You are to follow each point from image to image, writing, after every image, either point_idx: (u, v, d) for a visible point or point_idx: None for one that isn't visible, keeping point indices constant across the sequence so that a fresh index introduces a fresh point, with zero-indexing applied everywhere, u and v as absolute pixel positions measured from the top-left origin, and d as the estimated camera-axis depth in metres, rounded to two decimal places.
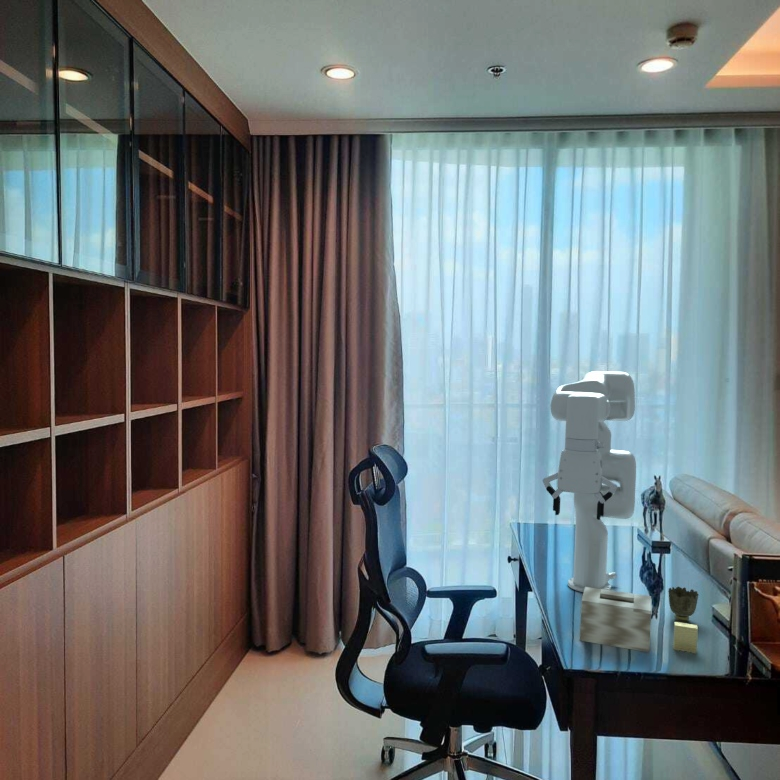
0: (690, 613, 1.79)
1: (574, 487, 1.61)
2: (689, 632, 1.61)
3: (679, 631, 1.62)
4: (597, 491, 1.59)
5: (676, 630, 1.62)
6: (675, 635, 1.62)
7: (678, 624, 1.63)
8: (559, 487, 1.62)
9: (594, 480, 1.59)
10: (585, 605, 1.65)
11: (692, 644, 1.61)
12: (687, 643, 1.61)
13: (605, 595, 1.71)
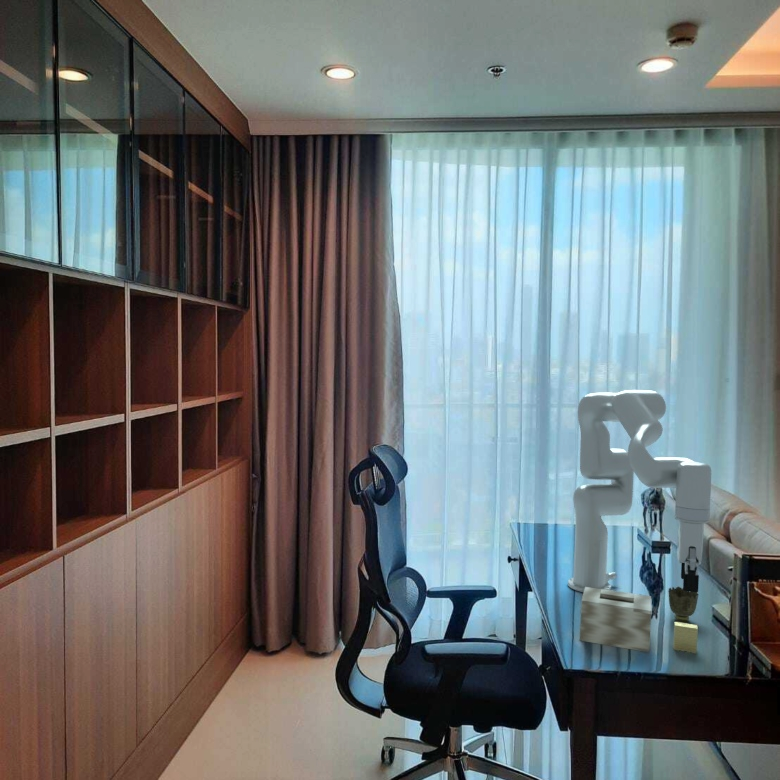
0: (690, 613, 1.79)
1: None
2: (689, 632, 1.61)
3: (679, 631, 1.62)
4: None
5: (676, 630, 1.62)
6: (675, 635, 1.62)
7: (678, 624, 1.63)
8: (700, 562, 1.57)
9: None
10: (585, 605, 1.65)
11: (692, 644, 1.61)
12: (687, 643, 1.61)
13: (605, 595, 1.71)
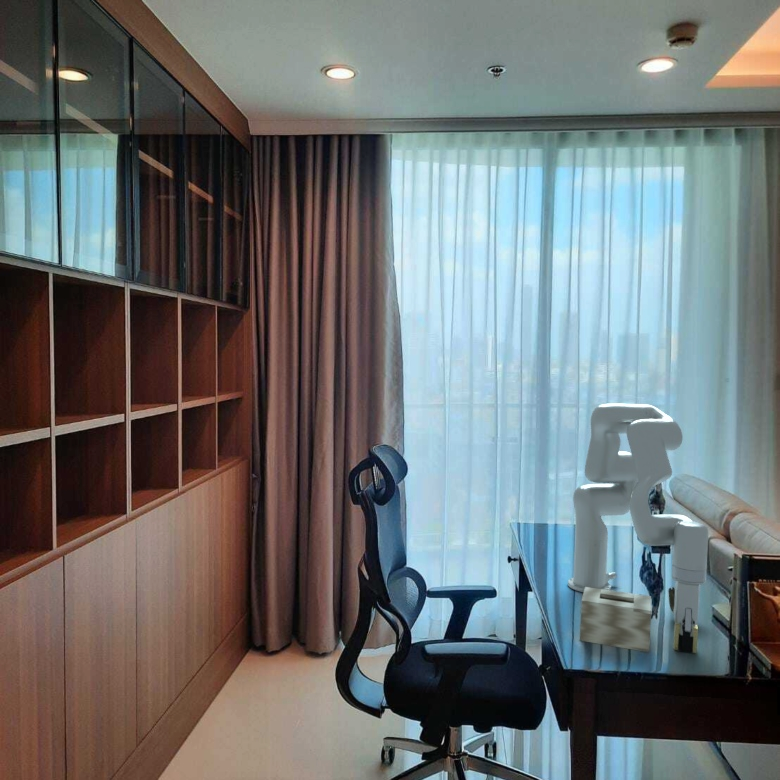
0: None
1: None
2: None
3: (679, 631, 1.62)
4: None
5: (676, 630, 1.62)
6: (675, 635, 1.62)
7: (678, 624, 1.63)
8: (696, 623, 1.58)
9: None
10: (585, 605, 1.65)
11: None
12: None
13: (605, 595, 1.71)
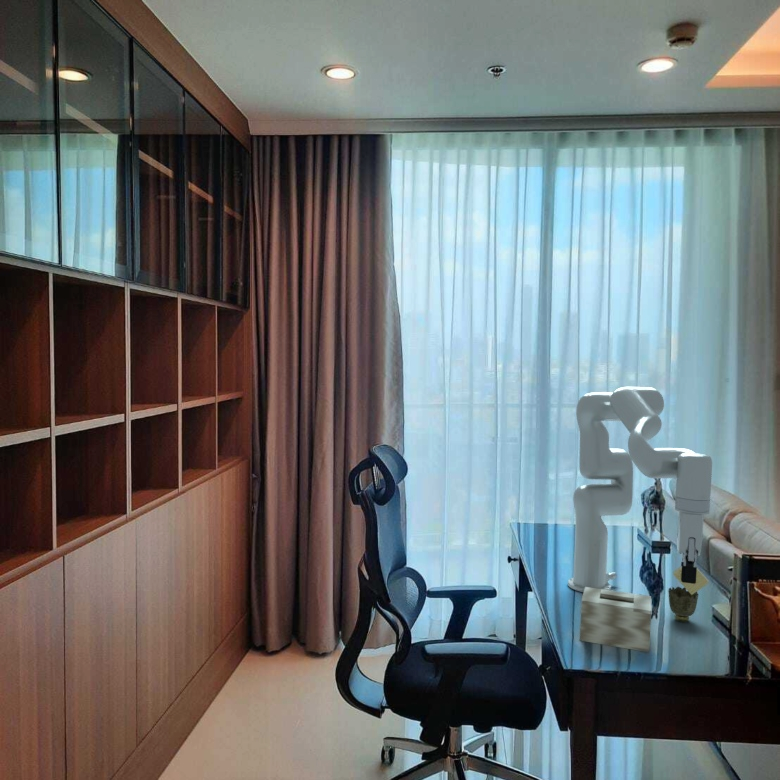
0: (690, 613, 1.79)
1: None
2: None
3: None
4: None
5: (678, 578, 1.62)
6: (681, 582, 1.62)
7: (676, 571, 1.63)
8: None
9: None
10: (585, 605, 1.65)
11: (699, 578, 1.60)
12: None
13: (605, 595, 1.71)
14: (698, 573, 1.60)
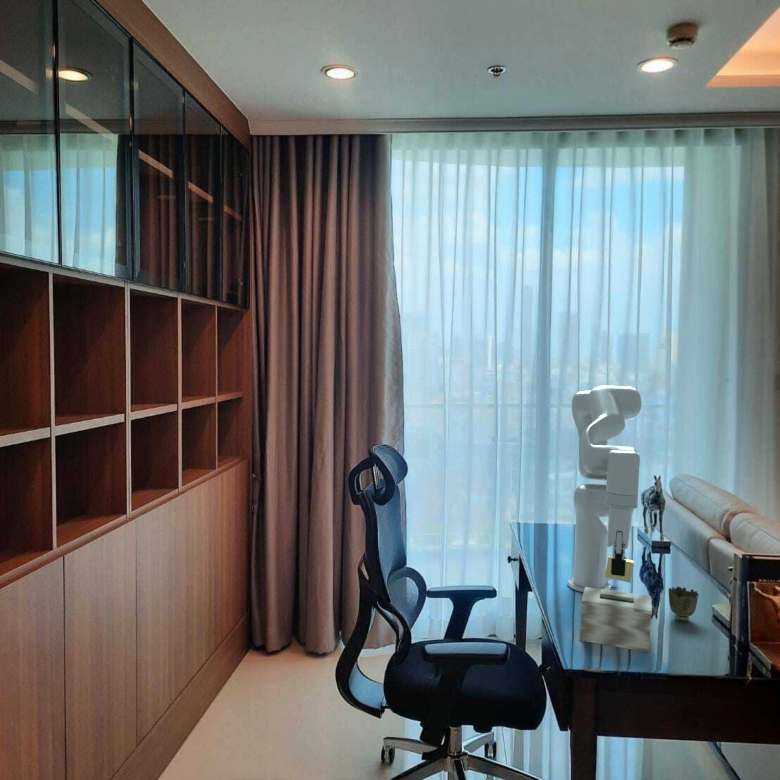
0: (690, 613, 1.79)
1: None
2: None
3: (611, 574, 1.67)
4: None
5: (610, 576, 1.67)
6: (615, 578, 1.67)
7: None
8: (627, 546, 1.62)
9: None
10: (585, 605, 1.65)
11: None
12: None
13: (605, 595, 1.71)
14: None
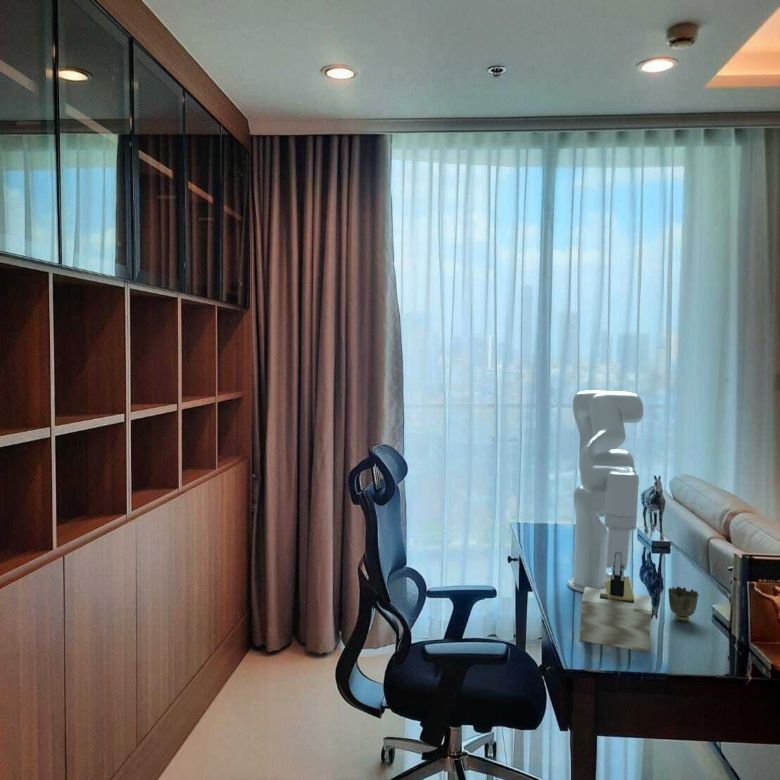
0: (690, 613, 1.79)
1: None
2: None
3: (613, 596, 1.67)
4: None
5: (613, 599, 1.67)
6: (619, 599, 1.67)
7: (608, 597, 1.68)
8: (626, 567, 1.63)
9: None
10: (585, 605, 1.65)
11: None
12: None
13: (605, 595, 1.71)
14: None
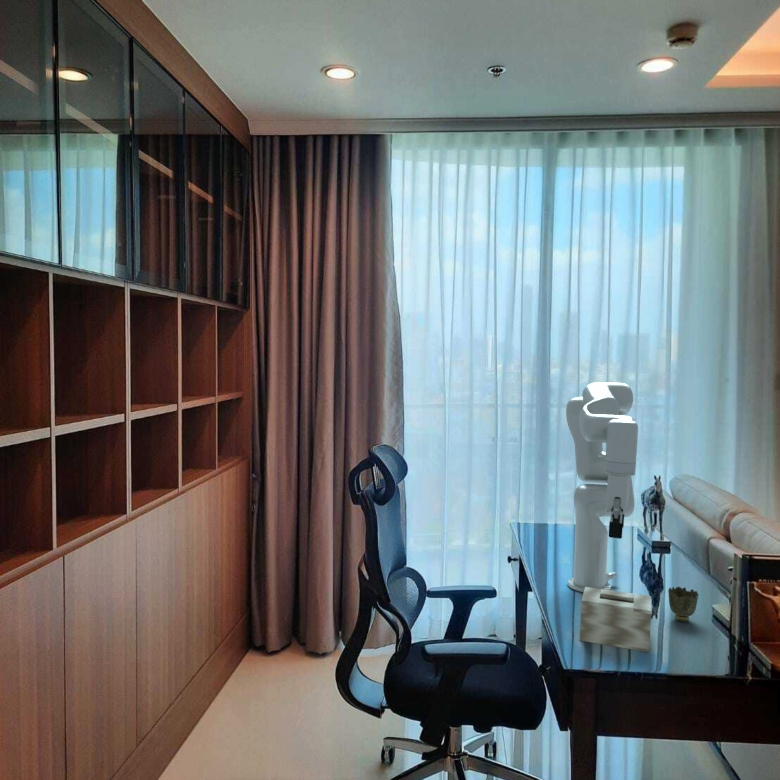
0: (690, 613, 1.79)
1: None
2: None
3: None
4: None
5: None
6: None
7: None
8: (624, 511, 1.70)
9: None
10: (585, 605, 1.65)
11: None
12: None
13: (605, 595, 1.71)
14: None
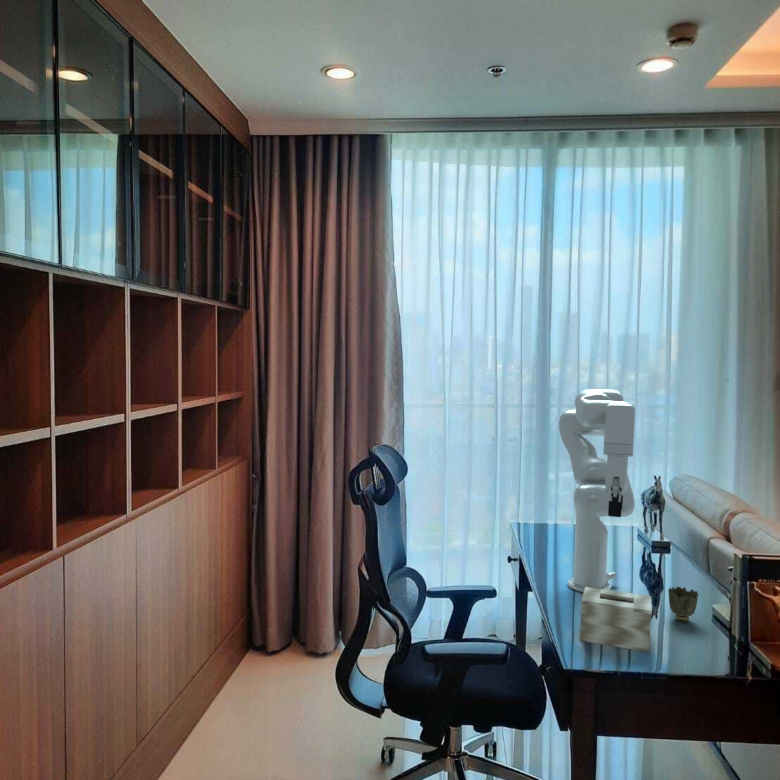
0: (690, 613, 1.79)
1: None
2: None
3: None
4: None
5: None
6: None
7: None
8: (623, 490, 1.77)
9: None
10: (585, 605, 1.65)
11: None
12: None
13: (605, 595, 1.71)
14: None
